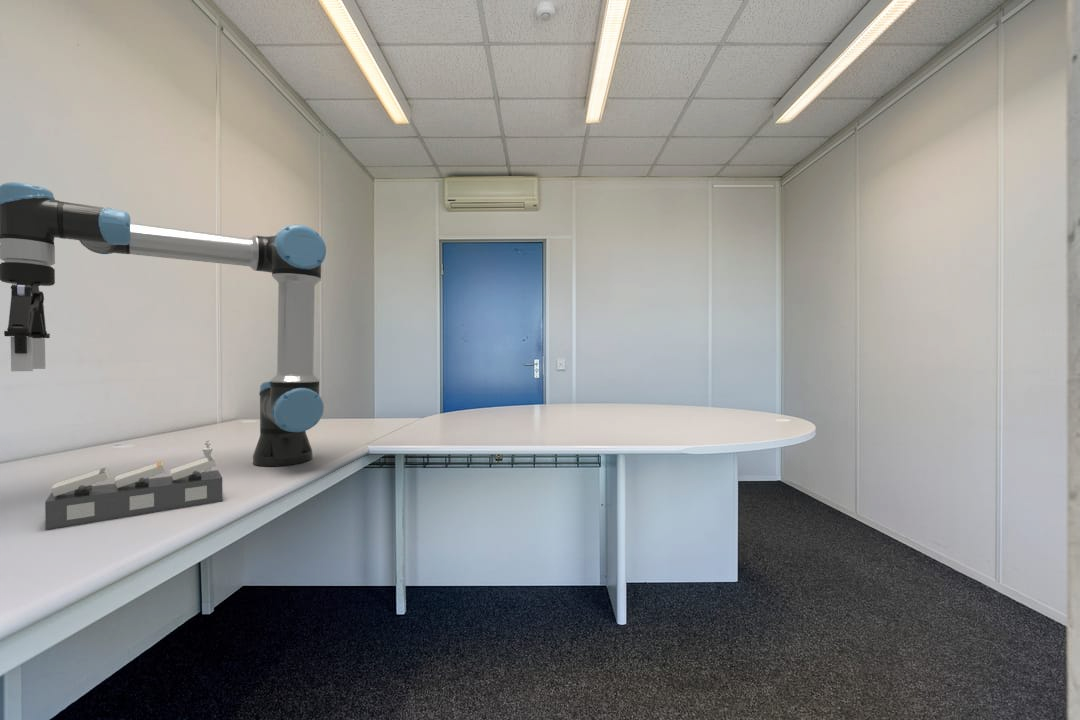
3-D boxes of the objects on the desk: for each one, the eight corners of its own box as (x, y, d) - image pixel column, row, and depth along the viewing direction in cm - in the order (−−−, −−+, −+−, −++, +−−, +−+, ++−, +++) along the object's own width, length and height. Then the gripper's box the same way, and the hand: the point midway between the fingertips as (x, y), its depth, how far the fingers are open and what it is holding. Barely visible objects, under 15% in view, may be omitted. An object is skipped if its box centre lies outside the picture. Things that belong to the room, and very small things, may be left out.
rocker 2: (165, 469, 98) (162, 460, 98) (166, 474, 95) (162, 464, 95) (119, 485, 94) (115, 475, 93) (118, 490, 90) (114, 480, 90)
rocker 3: (214, 463, 104) (211, 455, 103) (217, 467, 100) (214, 459, 100) (173, 478, 99) (170, 469, 99) (174, 482, 96) (170, 473, 95)
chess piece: (201, 485, 111) (201, 443, 111) (191, 482, 113) (190, 441, 113) (224, 480, 115) (223, 439, 115) (213, 477, 118) (213, 437, 118)
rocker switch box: (218, 492, 106) (218, 467, 106) (222, 501, 99) (222, 474, 99) (52, 517, 89) (52, 488, 89) (45, 530, 83) (45, 498, 83)
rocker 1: (110, 476, 93) (106, 467, 93) (109, 481, 90) (105, 471, 89) (58, 493, 88) (54, 483, 88) (54, 498, 85) (50, 488, 85)
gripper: (14, 270, 102) (15, 368, 102) (-19, 251, 82) (-17, 372, 83) (63, 273, 106) (64, 367, 107) (43, 257, 87) (45, 371, 87)
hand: (29, 370), depth 95 cm, fingers open, 13 cm apart
